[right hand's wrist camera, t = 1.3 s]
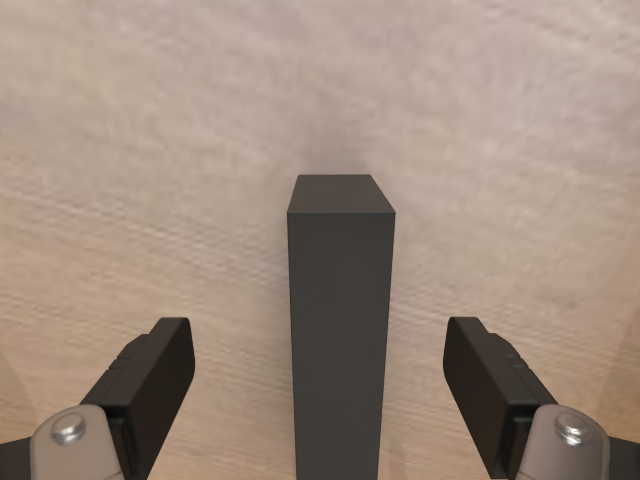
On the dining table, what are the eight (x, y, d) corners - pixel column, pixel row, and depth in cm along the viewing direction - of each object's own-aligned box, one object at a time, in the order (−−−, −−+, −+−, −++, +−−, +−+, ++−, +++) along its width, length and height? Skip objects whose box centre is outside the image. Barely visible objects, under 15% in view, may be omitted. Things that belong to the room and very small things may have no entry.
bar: (298, 174, 26) (286, 211, 17) (370, 174, 26) (396, 211, 17) (304, 450, 35) (299, 566, 26) (358, 450, 35) (371, 566, 26)
